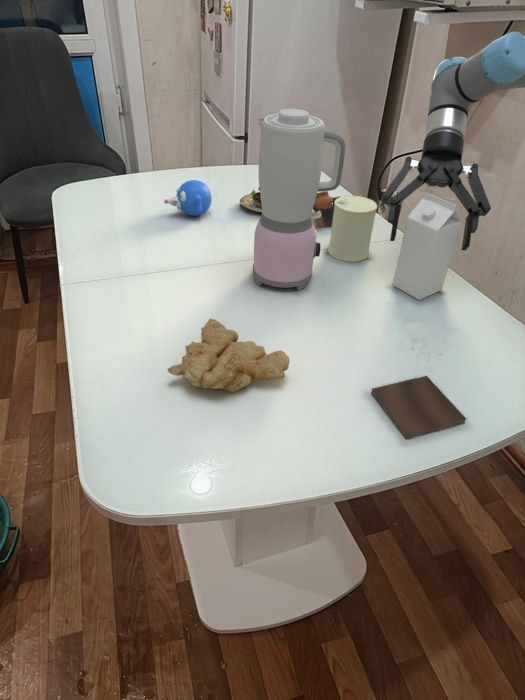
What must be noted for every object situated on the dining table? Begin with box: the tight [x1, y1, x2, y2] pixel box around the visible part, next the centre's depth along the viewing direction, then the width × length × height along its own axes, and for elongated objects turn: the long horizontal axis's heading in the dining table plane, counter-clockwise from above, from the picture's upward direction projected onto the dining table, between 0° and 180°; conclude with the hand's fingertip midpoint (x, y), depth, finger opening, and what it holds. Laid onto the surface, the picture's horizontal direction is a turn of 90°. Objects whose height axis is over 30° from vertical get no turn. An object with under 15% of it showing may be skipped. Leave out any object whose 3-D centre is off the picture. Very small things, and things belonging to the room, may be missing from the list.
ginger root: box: [167, 318, 290, 393], centre depth 79 cm, size 16×16×8 cm
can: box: [327, 195, 378, 263], centre depth 112 cm, size 9×9×12 cm
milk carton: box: [392, 191, 463, 301], centre depth 99 cm, size 7×7×19 cm
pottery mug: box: [312, 191, 341, 229], centre depth 128 cm, size 12×10×8 cm
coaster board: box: [370, 375, 467, 440], centre depth 77 cm, size 10×10×1 cm
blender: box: [252, 108, 346, 291], centre depth 96 cm, size 16×12×32 cm
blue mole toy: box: [163, 179, 213, 217], centre depth 126 cm, size 12×12×8 cm
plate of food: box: [239, 186, 262, 213], centre depth 132 cm, size 12×12×8 cm
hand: (428, 243), depth 98 cm, fingers open, 13 cm apart
